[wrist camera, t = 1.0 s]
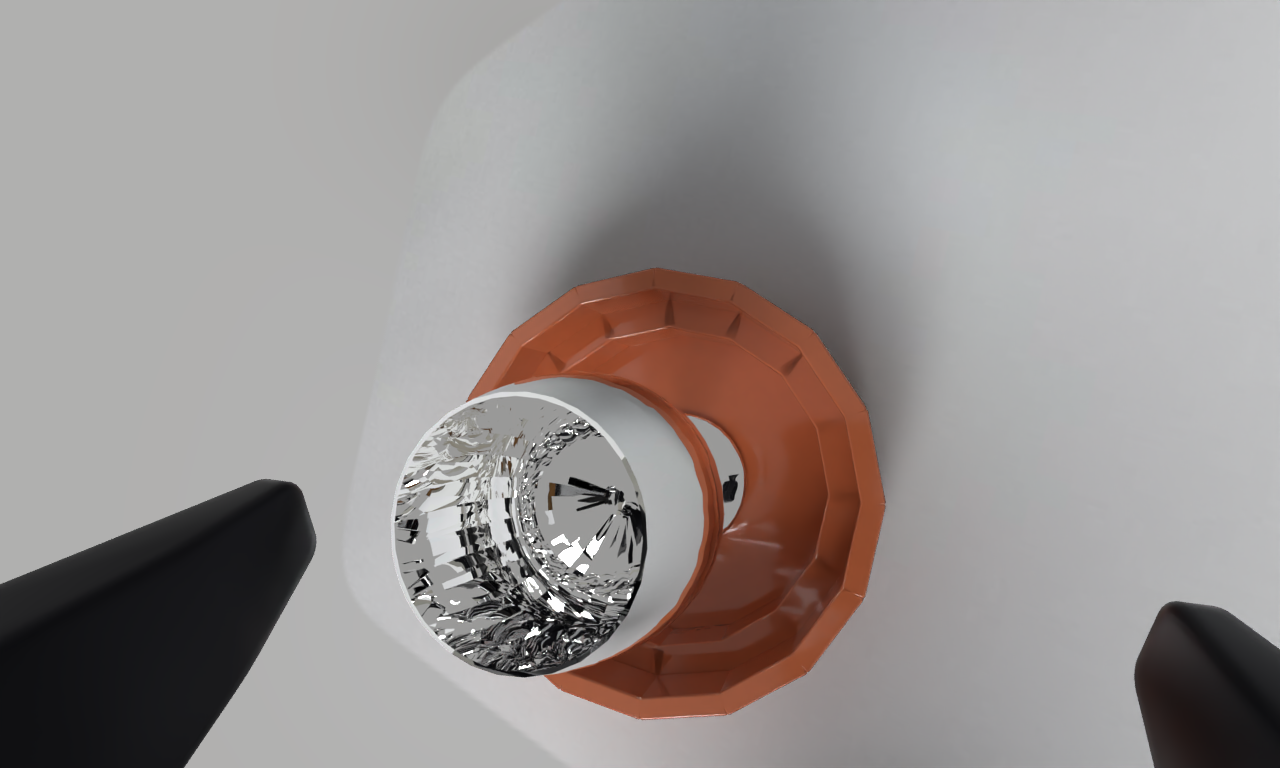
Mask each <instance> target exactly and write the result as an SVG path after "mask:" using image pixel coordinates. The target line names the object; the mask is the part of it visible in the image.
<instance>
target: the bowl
mask: <svg viewBox="0 0 1280 768" xmlns="http://www.w3.org/2000/svg"><path fill="white" fill-rule="evenodd" d="M511 333H512V334H509V336H508V337H507V339H506V340H505V342H504V343H503V345H502V346H501V348H500V349H499V351H498V352H497V354H496V356H495V357H494V359H493V360H492V362H491V363H490V365H489V366H488V368H487V369H486V371H485V372H484V374H483V375H482V377H481V379H480V380H479V382H478V383H477V385H476V386H475V388H474V389H473V391H472V392H471V394H470V395H469V397H468V400H467V401H466V402H468V401H470V400H472V399H474V398H476V397H478V396H481V395H483V394H485V393H487V392H490V391H492V390H495V389H498V388H500V387H503V386H505V385H508V384H511V383H514V382H518V381H521V380H525V379H528V378H532V377H535V376H539V375H546V374H555V373H564V372H572V371H585V372H598V373H604V374H610V375H615V376H621V377H624V378H627V379H630V380H633V381H636V382H638V383H641V384H643V385H645V386H647V387H649V388H651V389H653V390H655V391H656V392H658V393H660V394H661V395H663V396H664V397H665V398H667V399H668V400H669V401H671V402H672V403H673V404H675V405H676V406H677V407H678V408H679V409H680V410H681V411H682V412H683V413H692V414H695V415H698V416H701V417H704V418H707V419H708V420H710V421H712V422H713V423H715V424H716V425H718V426H720V427H721V428H722V429H723V430H724V431H725V432H726V433H727V434H728V435H729V436H730V437H731V438H732V440H733V441H734V443H735V445H736V446H737V448H738V450H739V451H740V453H741V456H742V459H743V462H744V466H745V469H746V475H747V489H746V496H745V500H744V504H743V507H742V509H741V511H740V513H739V516H738V517H737V519H736V520H735V522H734V523H733V525H732V526H731V527H730V528H729V529H728V530H727V531H726V532H725V533H724V534H723V535H722V540H721V544H720V547H719V551H718V554H717V557H716V560H715V563H714V566H713V569H712V571H711V573H710V575H709V577H708V579H707V581H706V583H705V584H704V586H703V588H702V589H701V591H700V593H699V594H698V595H697V597H696V598H695V599H694V600H693V602H692V603H691V604H690V606H689V607H688V608H687V609H686V610H685V611H684V612H683V613H682V615H681V616H680V617H679V618H678V619H676V620H675V621H674V622H673V623H672V624H670V625H669V626H668V627H667V628H666V629H664V630H663V631H662V632H661V633H660V634H658V635H657V636H656V637H654V638H653V639H651V640H649V641H648V642H646V643H644V644H642V645H640V646H638V647H636V648H634V649H632V650H630V651H628V652H626V653H624V654H622V655H620V656H618V657H615V658H613V659H610V660H608V661H605V662H602V663H599V664H597V665H593V666H589V667H585V668H581V669H576V670H572V671H568V672H564V673H559V674H550V675H544V676H545V677H546V678H547V679H548V680H549V681H550V682H552V683H553V684H554V685H555V686H556V687H557V688H558V689H561V690H562V691H564V692H567V693H569V694H572V695H575V696H577V697H580V698H583V699H585V700H588V701H591V702H593V703H596V704H599V705H601V706H604V707H607V708H609V709H612V710H615V711H618V712H620V713H623V714H626V715H628V716H631V717H634V718H636V719H640V718H641V719H642V720H651V719H669V718H688V717H706V716H725V715H727V714H728V715H730V714H732V713H734V712H736V711H738V710H740V709H741V708H743V707H745V706H747V705H749V704H751V703H753V702H755V701H757V700H758V699H760V698H762V697H764V696H766V695H768V694H770V693H772V692H774V691H776V690H777V689H779V688H781V687H783V686H785V685H787V684H789V683H791V682H793V681H794V680H796V679H798V678H800V677H802V676H804V675H806V674H807V672H809V671H810V670H811V669H812V668H813V666H814V665H815V664H816V662H817V661H818V660H819V658H820V657H821V656H822V654H823V653H824V652H825V650H826V649H827V648H828V646H829V645H830V644H831V642H832V641H833V640H834V639H835V637H836V636H837V635H838V633H839V632H840V631H841V629H842V628H843V627H844V625H845V624H846V623H847V621H848V620H849V619H850V617H851V616H852V615H853V613H854V612H855V611H856V609H857V608H858V607H859V606H860V604H861V603H862V602H863V599H864V598H865V596H866V591H867V587H868V582H869V578H870V573H871V569H872V565H873V560H874V556H875V551H876V547H877V542H878V538H879V534H880V529H881V525H882V520H883V516H884V512H885V507H886V506H885V503H886V501H885V496H884V491H883V486H882V481H881V475H880V470H879V465H878V460H877V455H876V449H875V444H874V439H873V434H872V429H871V423H870V418H869V413H868V410H866V406H865V405H864V403H863V402H862V400H861V399H860V397H859V396H858V394H857V393H856V391H855V390H854V388H853V387H852V385H851V384H850V382H849V381H848V379H847V378H846V376H845V375H844V373H843V372H842V370H841V369H840V367H839V366H838V365H837V363H836V362H835V360H834V359H833V357H832V356H831V354H830V353H829V351H828V350H827V348H826V347H825V345H824V344H823V342H822V341H821V339H820V338H819V336H818V335H817V333H815V332H814V331H813V329H811V328H810V327H808V326H806V325H805V324H803V323H802V322H800V321H799V320H797V319H796V318H794V317H793V316H791V315H790V314H788V313H786V312H785V311H783V310H782V309H780V308H779V307H777V306H776V305H774V304H773V303H771V302H769V301H768V300H766V299H765V298H763V297H762V296H760V295H759V294H757V293H756V292H754V291H753V290H751V289H749V288H748V287H746V286H745V285H743V284H742V283H739V282H737V281H731V280H726V279H720V278H714V277H708V276H703V275H697V274H691V273H685V272H680V271H674V270H668V269H662V268H651V269H646V270H642V271H638V272H634V273H629V274H625V275H621V276H616V277H612V278H608V279H604V280H599V281H595V282H591V283H586V284H582V285H578V286H576V287H574V288H572V289H571V290H569V291H568V292H567V293H565V294H564V295H562V296H561V297H560V298H558V299H557V300H555V301H554V302H553V303H551V304H550V305H548V306H547V307H546V308H544V309H543V310H541V311H540V312H539V313H537V314H536V315H534V316H533V317H532V318H530V319H529V320H527V321H526V322H525V323H523V324H522V325H520V326H519V327H518V328H516V329H515V330H513V331H512V332H511Z"/></svg>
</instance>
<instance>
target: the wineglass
mask: <svg viewBox="0 0 1280 768" xmlns="http://www.w3.org/2000/svg"><path fill="white" fill-rule="evenodd" d="M746 489H747V475H746V469H745V466H744V462H743V459H742V456H741V453H740V451H739V450H738V448H737V446H736V445H735V443H734V441H733V440H732V438H731V437H730V436H729V435H728V434H727V433H726V432H725V431H724V430H723V429H722V428H721V427H720V426H718V425H716V424H715V423H713V422H712V421H710V420H708V419H707V418H704V417H701V416H698V415H695V414H692V413H683V412H682V411H681V410H680V409H679V408H678V407H677V406H676V405H675V404H673V403H672V402H671V401H669V400H668V399H667V398H665V397H664V396H663V395H661V394H660V393H658V392H656V391H655V390H653V389H651V388H649V387H647V386H645V385H643V384H641V383H638V382H636V381H633V380H630V379H627V378H624V377H621V376H615V375H610V374H604V373H598V372H585V371H572V372H564V373H555V374H546V375H539V376H535V377H532V378H528V379H525V380H521V381H518V382H514V383H511V384H508V385H505V386H503V387H500V388H498V389H495V390H492V391H490V392H487V393H485V394H483V395H481V396H478V397H476V398H474V399H472V400H470V401H468V402H466V403H464V404H462V405H461V406H459V407H457V408H455V409H453V410H452V411H450V412H448V413H447V414H446V415H445V416H444V417H443V418H442V419H440V420H439V421H438V422H437V423H436V424H435V425H434V426H433V427H432V428H431V429H429V430H428V431H427V432H426V433H425V434H424V436H423V437H422V438H421V440H420V441H419V443H418V444H417V446H416V447H415V449H414V450H413V452H412V453H411V455H410V456H409V457H408V459H407V462H406V464H405V467H404V469H403V472H402V474H401V477H400V479H399V481H398V484H397V486H396V492H395V497H394V503H393V508H392V514H391V548H392V556H393V561H394V567H395V570H396V574H397V577H398V581H399V583H400V586H401V588H402V591H403V593H404V596H405V598H406V600H407V602H408V604H409V605H410V607H411V609H412V611H413V612H414V614H415V616H416V618H417V619H418V620H419V621H420V623H421V624H422V625H423V626H424V628H425V629H426V630H427V632H428V633H429V634H430V635H431V636H432V637H433V638H434V639H435V640H436V641H437V642H438V643H439V644H441V645H442V646H443V647H444V648H445V649H446V650H447V651H448V652H450V653H451V654H453V655H455V656H456V657H458V658H459V659H461V660H463V661H464V662H466V663H468V664H469V665H471V666H474V667H477V668H479V669H482V670H485V671H488V672H491V673H494V674H497V675H506V676H515V677H533V676H541V675H550V674H559V673H564V672H568V671H572V670H576V669H581V668H585V667H589V666H593V665H597V664H599V663H602V662H605V661H608V660H610V659H613V658H615V657H618V656H620V655H622V654H624V653H626V652H628V651H630V650H632V649H634V648H636V647H638V646H640V645H642V644H644V643H646V642H648V641H649V640H651V639H653V638H654V637H656V636H657V635H658V634H660V633H661V632H662V631H663V630H664V629H666V628H667V627H668V626H669V625H670V624H672V623H673V622H674V621H675V620H676V619H678V618H679V617H680V616H681V615H682V613H683V612H684V611H685V610H686V609H687V608H688V607H689V606H690V604H691V603H692V602H693V600H694V599H695V598H696V597H697V595H698V594H699V593H700V591H701V589H702V588H703V586H704V584H705V583H706V581H707V579H708V577H709V575H710V573H711V571H712V569H713V566H714V563H715V560H716V557H717V554H718V551H719V547H720V544H721V540H722V535H723V534H724V533H725V532H726V531H727V530H728V529H729V528H730V527H731V526H732V525H733V523H734V522H735V520H736V519H737V517H738V516H739V513H740V511H741V509H742V507H743V504H744V500H745V496H746Z"/></svg>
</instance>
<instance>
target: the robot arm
mask: <svg viewBox="0 0 1280 768" xmlns="http://www.w3.org/2000/svg"><path fill="white" fill-rule="evenodd" d="M315 548H316V534H315V531H314V528H313V524H312V522H311V518H310V515H309V512H308V509H307V506H306V502H305V499H304V496H303V493H302V491H301V490H300V488H299V487H298V486H297V485H296V484H294V483H292V482H286V481H278V480H271V479H261V480H257V481H254V482H252V483H250V484H247V485H245V486H243V487H240V488H237V489H235V490H232V491H230V492H227V493H225V494H222V495H220V496H217V497H215V498H212V499H210V500H207V501H205V502H203V503H200V504H198V505H195V506H193V507H190V508H188V509H185V510H183V511H180V512H178V513H175V514H173V515H170V516H168V517H165V518H163V519H161V520H158V521H156V522H153V523H151V524H148V525H146V526H143V527H141V528H138V529H136V530H133V531H131V532H128V533H126V534H124V535H121V536H119V537H116V538H114V539H111V540H109V541H106V542H104V543H102V544H99V545H96V546H94V547H92V548H89V549H86V550H84V551H81V552H79V553H77V554H74V555H72V556H69V557H67V558H64V559H62V560H59V561H57V562H54V563H52V564H49V565H47V566H44V567H42V568H40V569H37V570H35V571H32V572H30V573H27V574H25V575H22V576H20V577H17V578H15V579H12V580H10V581H7V582H5V583H3V584H0V768H184V767H185V765H186V764H187V763H188V761H189V759H190V758H191V757H192V755H193V754H194V752H195V751H196V749H197V748H198V746H199V745H200V743H201V742H202V740H203V739H204V737H205V736H206V735H207V733H208V732H209V730H210V729H211V727H212V726H213V724H214V723H215V721H216V720H217V718H218V717H219V716H220V714H221V713H222V711H223V710H224V708H225V707H226V705H227V704H228V702H229V701H230V699H231V698H232V696H233V695H234V694H235V692H236V690H237V689H238V687H239V686H240V684H241V683H242V681H243V680H244V678H245V676H246V675H247V674H248V672H249V670H250V668H251V667H252V665H253V663H254V662H255V660H256V658H257V656H258V655H259V653H260V651H261V649H262V648H263V646H264V644H265V642H266V640H267V639H268V637H269V635H270V633H271V631H272V630H273V628H274V626H275V624H276V622H277V621H278V619H279V617H280V615H281V614H282V612H283V610H284V608H285V606H286V605H287V603H288V601H289V599H290V597H291V595H292V594H293V592H294V590H295V588H296V587H297V585H298V583H299V581H300V579H301V578H302V576H303V574H304V572H305V570H306V569H307V567H308V565H309V563H310V561H311V559H312V557H313V555H314V552H315ZM1134 680H1135V688H1136V693H1137V697H1138V701H1139V705H1140V709H1141V713H1142V718H1143V722H1144V726H1145V730H1146V734H1147V738H1148V742H1149V747H1150V751H1151V755H1152V759H1153V763H1154V767H1155V768H1280V649H1279V648H1277V647H1276V646H1274V645H1273V644H1272V643H1270V642H1269V641H1268V640H1266V639H1265V638H1264V637H1262V636H1261V635H1259V634H1258V633H1257V632H1255V631H1254V630H1253V629H1251V628H1250V627H1249V626H1247V625H1246V624H1244V623H1243V622H1242V621H1240V620H1239V619H1238V618H1236V617H1235V616H1234V615H1232V614H1231V613H1229V612H1228V611H1226V610H1224V609H1222V608H1218V607H1215V606H1208V605H1201V604H1193V603H1186V602H1179V601H1175V602H1169V603H1167V604H1165V605H1164V606H1163V607H1162V608H1161V610H1160V611H1159V613H1158V615H1157V617H1156V619H1155V621H1154V624H1153V626H1152V628H1151V630H1150V632H1149V634H1148V637H1147V639H1146V641H1145V643H1144V645H1143V648H1142V650H1141V652H1140V654H1139V656H1138V658H1137V662H1136V665H1135V673H1134Z"/></svg>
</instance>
